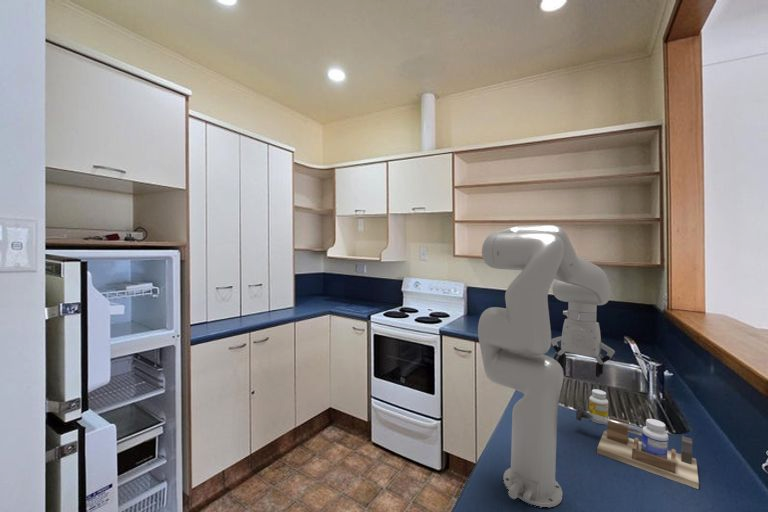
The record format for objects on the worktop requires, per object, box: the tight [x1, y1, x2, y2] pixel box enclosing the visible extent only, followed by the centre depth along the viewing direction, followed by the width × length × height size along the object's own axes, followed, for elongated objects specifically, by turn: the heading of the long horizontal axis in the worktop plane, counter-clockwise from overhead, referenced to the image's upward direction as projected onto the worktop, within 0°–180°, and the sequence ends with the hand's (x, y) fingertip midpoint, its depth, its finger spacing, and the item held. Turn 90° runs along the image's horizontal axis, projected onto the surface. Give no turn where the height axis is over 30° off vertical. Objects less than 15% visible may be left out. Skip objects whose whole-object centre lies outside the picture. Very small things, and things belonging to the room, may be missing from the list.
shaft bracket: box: [596, 415, 700, 490], centre depth 90 cm, size 12×20×7 cm, turn 49°
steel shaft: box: [575, 405, 643, 437], centre depth 99 cm, size 4×17×4 cm, turn 49°
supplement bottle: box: [588, 388, 609, 425], centre depth 111 cm, size 5×5×10 cm
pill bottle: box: [641, 418, 669, 459], centre depth 88 cm, size 5×5×10 cm
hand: (580, 371), depth 103 cm, fingers open, 9 cm apart
